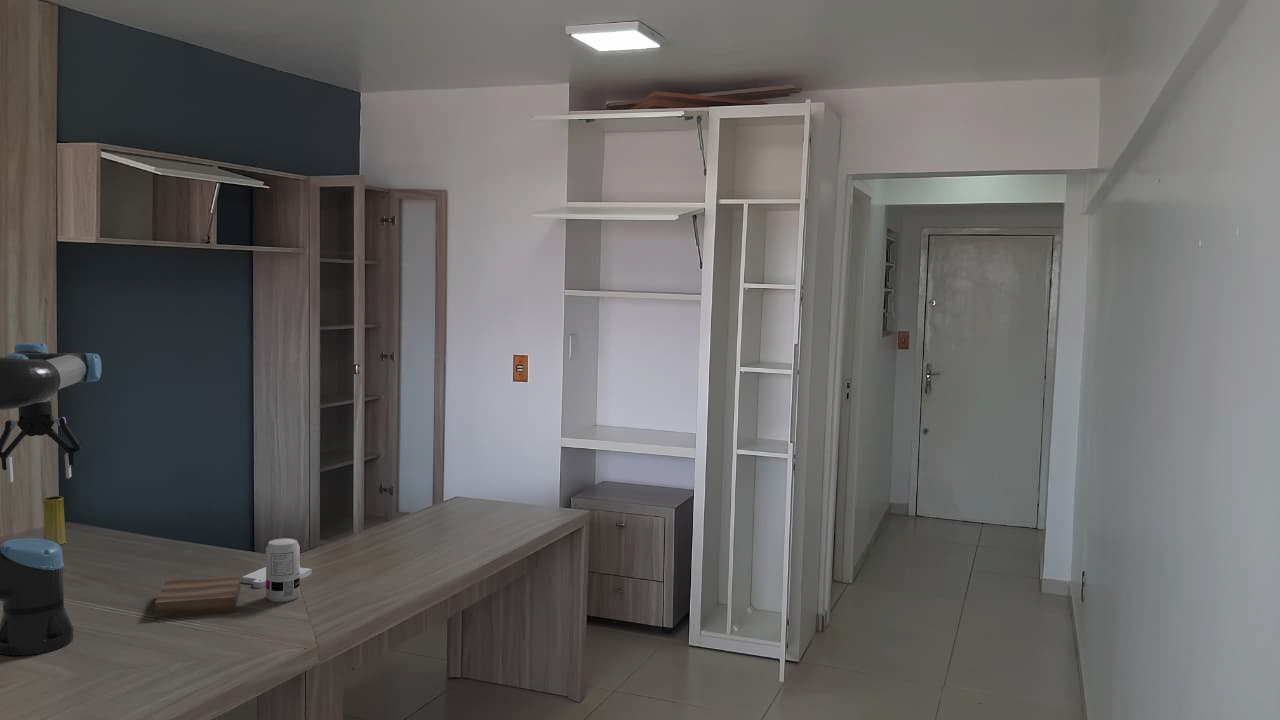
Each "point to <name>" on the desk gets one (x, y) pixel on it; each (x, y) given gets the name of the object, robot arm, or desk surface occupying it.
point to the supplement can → (282, 570)
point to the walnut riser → (198, 597)
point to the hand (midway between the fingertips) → (40, 479)
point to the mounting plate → (260, 577)
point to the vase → (54, 519)
